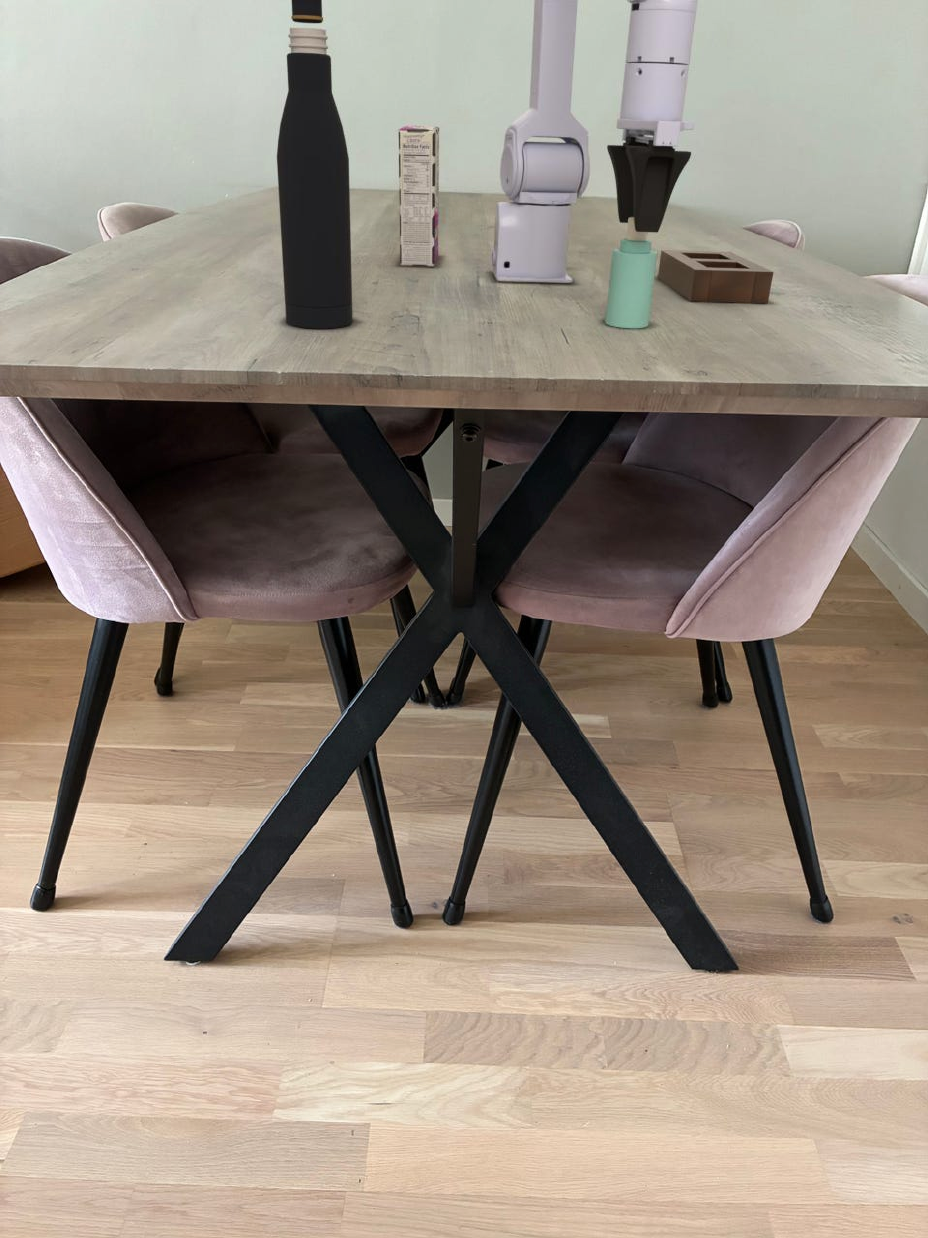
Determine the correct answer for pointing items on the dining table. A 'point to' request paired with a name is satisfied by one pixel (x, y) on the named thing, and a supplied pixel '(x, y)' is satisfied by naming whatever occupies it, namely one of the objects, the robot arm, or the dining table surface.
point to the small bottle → (631, 281)
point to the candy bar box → (419, 195)
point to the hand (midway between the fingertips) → (637, 227)
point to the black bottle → (313, 184)
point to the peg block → (715, 276)
